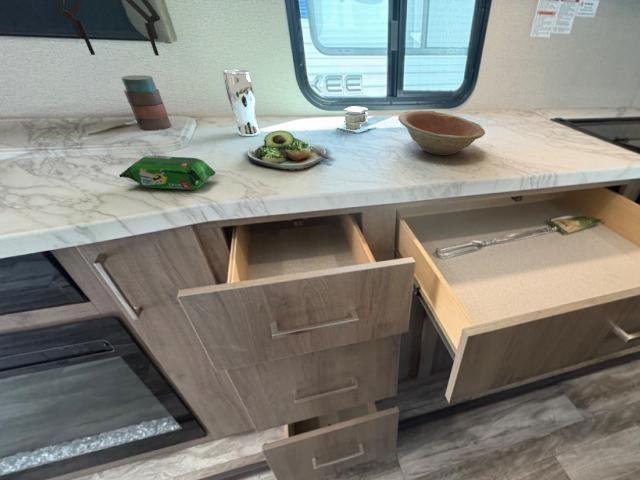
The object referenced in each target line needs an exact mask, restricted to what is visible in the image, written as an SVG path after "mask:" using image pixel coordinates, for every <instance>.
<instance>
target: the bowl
mask: <svg viewBox="0 0 640 480" xmlns="http://www.w3.org/2000/svg"><path fill="white" fill-rule="evenodd" d="M397 120H398V121H399V122H400V124H401V125H402V126H403V127H404V128H406V129H407V132H408V133H409V136H410V138H411V140H413V142H415V143H416V144H417V146H418V147H420V148H421V149H422V150H423V151H425V152H427V153H429V154H431V155H436V156H437V155H438V156H451V155H454V154H456V153H458V152H460V151H462V150H464V149H467V148H468V147H470V145H472V144H473V142H475V141H476V140H478V139H481V138H482V137H483V136H484V135H486V131H485V129H484V128H483V127H482V125H480V124H479V123H477V122H474V121H472V120H468V119H466V118H464V117H461V116H456V115H452V114H449V113H444V112H438V111H434V110H409V111H405V112H402V113H400V114H398V117H397Z"/></svg>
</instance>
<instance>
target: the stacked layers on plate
mask: <svg viewBox="0 0 640 480" xmlns="http://www.w3.org/2000/svg"><path fill="white" fill-rule="evenodd" d="M343 110H344V111H347V112H345V113H343V116H344V118H345V119H344V121H343V123H345V125H346V129H350V130H357V129H360V128H361V124H364V123H365V124H366V123H368V122H369V120H368V117H367V116H368V115H369V113H368V112H367V110H368V107H363V106H354V105H353V106H348V107H345V108H343ZM340 127H341V126H339V127H336V128H335V129H336V130H338V129H337V128H340Z"/></svg>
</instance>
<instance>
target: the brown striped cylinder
mask: <svg viewBox="0 0 640 480" xmlns="http://www.w3.org/2000/svg"><path fill="white" fill-rule="evenodd" d="M156 89H157V91H154V92H149V93H131V92H127V91H126V89H124V90H123V92H124V95H125V97H126V100H127V102H128V104H129V107H130V109H131V111H132V114H133V116H134V118H135V121H136V124H137V125H138V128H139V129H140V130H142V129H144V130H143V131H160V130H159V129H162V130H166V129H169V128H171V127H172V123H171V120H170V118H169V115H168V112H167V108H166V106H165V103H164V101H163V99H162V96H161V93H160V90H159V88H156ZM170 126H171V127H170ZM168 127H169V128H168ZM165 128H166V129H165Z"/></svg>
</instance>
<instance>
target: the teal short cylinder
mask: <svg viewBox="0 0 640 480" xmlns="http://www.w3.org/2000/svg"><path fill="white" fill-rule="evenodd" d="M120 78H121V81H122V83H123V86H124V88H125V90H126V91H127V92H131V93H149V92H154V91H157V89H158V88H157V87H156V83H155V81H154V78H153V77H152V76H150V75H145V74H143V75H141V74H139V75H137V74H136V75H134V74H133V75H124V76H122V77H120Z"/></svg>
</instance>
